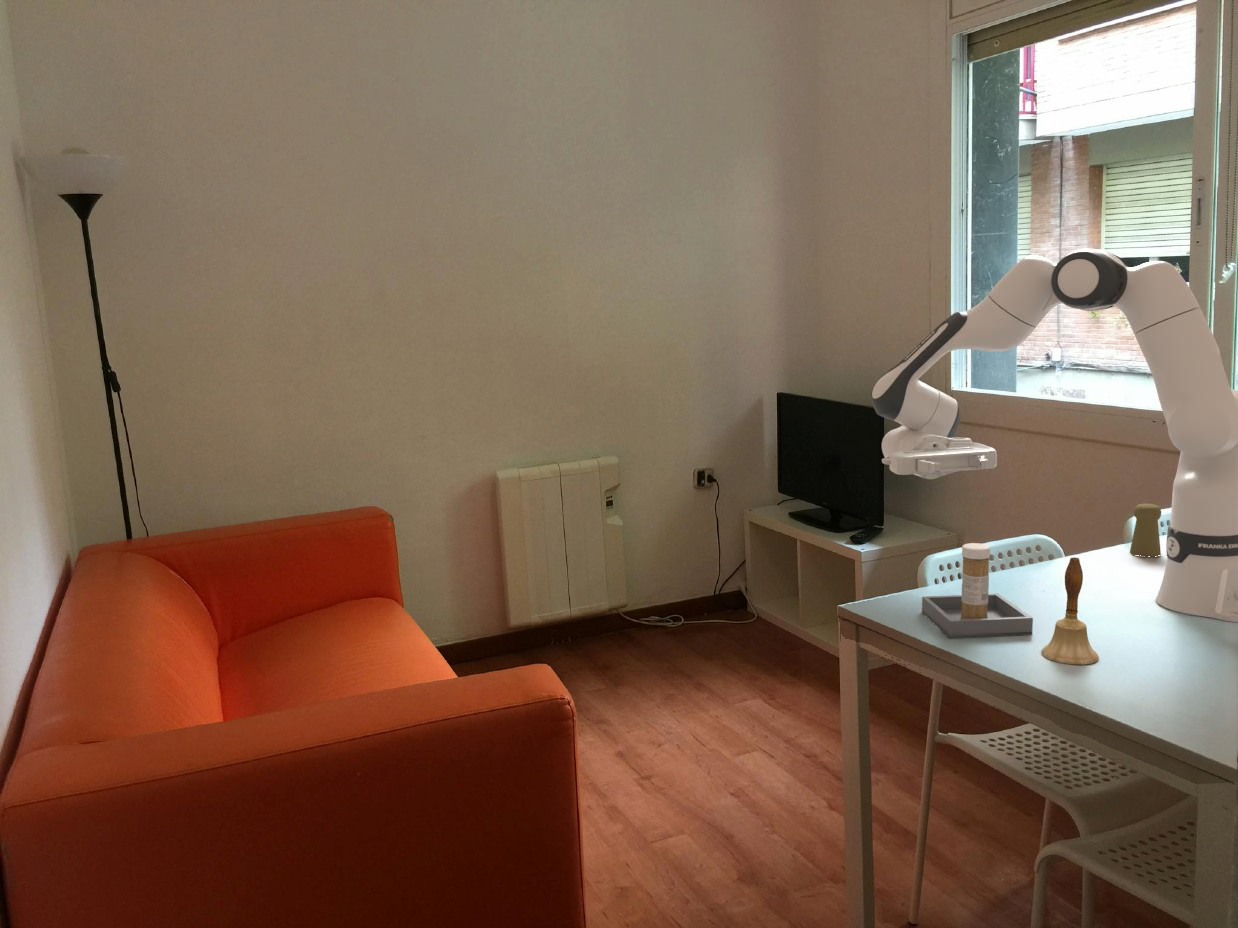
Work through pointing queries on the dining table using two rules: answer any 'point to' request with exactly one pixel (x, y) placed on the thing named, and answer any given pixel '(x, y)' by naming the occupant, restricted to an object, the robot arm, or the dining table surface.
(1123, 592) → the dining table surface
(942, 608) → the box
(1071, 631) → the hand bell
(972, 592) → the sprinkles bottle
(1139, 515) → the cork
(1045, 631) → the dining table surface
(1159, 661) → the dining table surface
